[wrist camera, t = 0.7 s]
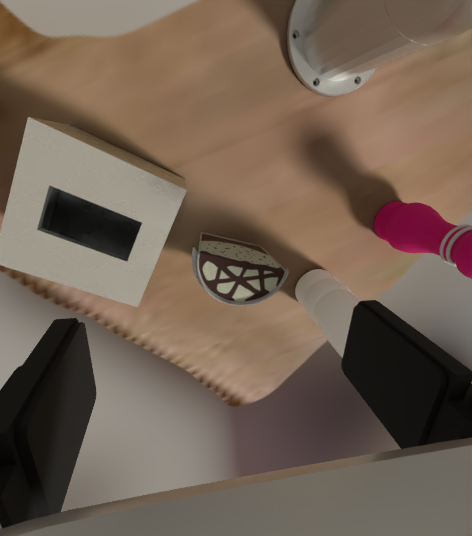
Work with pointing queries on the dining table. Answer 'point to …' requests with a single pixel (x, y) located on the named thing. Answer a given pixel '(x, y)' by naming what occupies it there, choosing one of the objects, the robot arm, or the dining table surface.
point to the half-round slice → (236, 270)
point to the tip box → (87, 212)
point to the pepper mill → (425, 233)
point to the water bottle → (327, 305)
